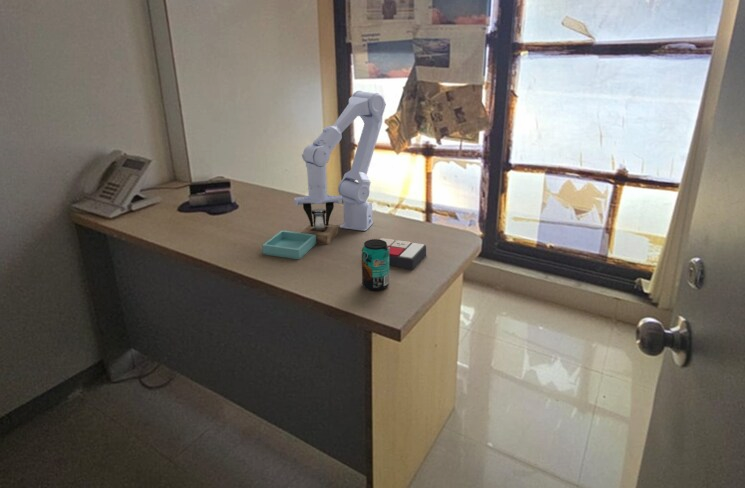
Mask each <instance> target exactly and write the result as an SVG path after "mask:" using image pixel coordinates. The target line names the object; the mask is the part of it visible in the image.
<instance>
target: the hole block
mask: <svg viewBox="0 0 745 488" xmlns="http://www.w3.org/2000/svg"><path fill="white" fill-rule="evenodd" d="M300 233H306V234H314V235H316V242H317V244H322V245H329V244H330V242H332V241H333V240H334V239H335V238H336V237H337V236H338V234H339V225H338V224H332V223H331V224H330V223H328V226H326V223H325V231H324V232H319V231H314V221H313V227H311V224H310V223H309V224H308V226H306V227H305V228H304V229H303V230H301V231H300Z"/></svg>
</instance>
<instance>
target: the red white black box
mask: <svg viewBox="0 0 745 488" xmlns="http://www.w3.org/2000/svg"><path fill="white" fill-rule="evenodd" d="M379 240H383V241H385V242H386V243H387V247H388V248H389V267H391V266H392V267H396V268H399V269H404V270H408V271H414V270H415V269H416V268H417V267H418V266H419V264H420V263H421V262H422V261H423V260H424V259H425V258H426V256H427V245H425V244H423V243H417V242H416V243H415V242H411V241H406V240H405V241H404V240H399V239H397V240H396V239H392V238H383V237H381V238H380V239H379Z"/></svg>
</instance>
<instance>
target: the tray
mask: <svg viewBox="0 0 745 488" xmlns="http://www.w3.org/2000/svg"><path fill="white" fill-rule="evenodd" d="M317 244H318V243H317V242H316V235H314V234H306V233H301V232H297V231H290V230H282V229H281V230H280V231H279V232H277V233H276V234H275V235H273V236H272V237H271V238H270V239H268V240H267V241H266V242H264V243H263V244H262V245H261V247H262V254H263V255H266V256H272V257H273V256H274V257H279V258H285V259H286V258H287V259H292V260H294V259H295V260H300V259H302V258H303V257H304V256H305V255H306V254H307V253H308V252H309V251H311V249H312V248H313V247H315V245H317Z"/></svg>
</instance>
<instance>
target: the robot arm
mask: <svg viewBox="0 0 745 488" xmlns="http://www.w3.org/2000/svg"><path fill="white" fill-rule="evenodd" d="M386 107H387V103H386V101H385V98H384V96H383V95H382V94H381V93H380V92H369V91H368V92H367V91H362V90H356V91H355V92H353V93H352V95H351V97H349V98H348V104H347V105H346V107H344V110H343V111H342V113H341V114H340V115H339V116H338V118H336V121H335V122H334V123H333V125H327V126H324V127H323V129H322V132H321V133H320V134H319V136H318V137H317V138H316V139H315V140H313V142H312V144H308V145H307V146H306V147H305V148H304V150H303V153H302V154H301V157H302V159H303V162H305V167H306V173H307V175H306V176H307V186H308V187H307V190H308V191H307V192H308V195H307V196H299V197H294V206H295V207H296V206H299V205H303V206H302V207H303V210H304V212H305V214H306V216H307V219H308V221H309V225H310V224H311V227H313V222H314V218H313V214H312V210H313V209H312V205H321V204H323V205H325V210H326V213H325V224H326V226H328V224H330V223H329V222H330V217H331V214H332V212H333V210H334V208H335V205H334V204H343V205H342V207H343V223H342V224H340V225H339V229H346V230H355V231H362V232H363V231H364V232H366V231H368V229H369V228H370V227H371V226H372V225H373V224H374V223H373V204H372V202H371V201H367V200H368V198H369V197H370V187H371V183H372V182H371V180H370V179H369V177H368V171H369V167H370V164H371V161H372V158H373V155H374V151H375V148H376V145H377V141H378V138H379V134H380V131H381V129H382V125H383V117H384V116H383V115H384V112H385V109H386ZM357 117H360V118H361V120H362V121H363V128H362V130H361V133H360V137H359V141H358V145H357V148H356V152H355V154H354V157H353V161H352V164H351V168H350V170H348V171H347V172H345V173H344V175H343V178H342V179H341V181H340V182H339V184H338V187H337V191H338V192H337V193H338V194H339V195H328V186H327V184H328V182H327V163H329V160H330V157H331V154H332V151H333V150H334V148H335V147H337V145H338V144H339V143H340V141H341V140H342V138H343V137H342V136H343V135H342V133H343V132H344V131H345V130H346V129H347V128H348V127H349V126H350V125H351V124H352V123H353V122H354V120H356V119H357Z"/></svg>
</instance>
